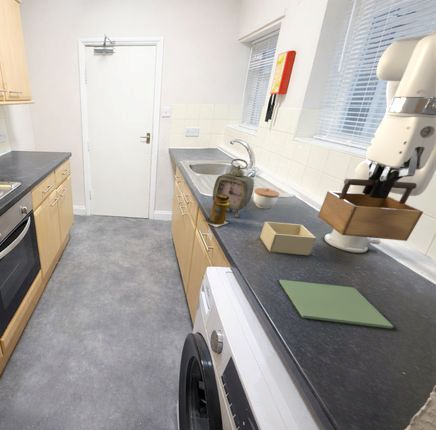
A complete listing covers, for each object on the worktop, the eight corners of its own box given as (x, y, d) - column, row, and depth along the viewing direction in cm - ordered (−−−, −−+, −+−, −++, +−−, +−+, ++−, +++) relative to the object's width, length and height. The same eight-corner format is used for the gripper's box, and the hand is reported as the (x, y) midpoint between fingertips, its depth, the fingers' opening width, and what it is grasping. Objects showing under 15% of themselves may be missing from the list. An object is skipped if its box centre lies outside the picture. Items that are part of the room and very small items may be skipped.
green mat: (353, 289, 76) (354, 287, 75) (392, 328, 63) (393, 326, 63) (279, 281, 78) (279, 279, 78) (302, 317, 66) (303, 315, 65)
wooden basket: (374, 221, 67) (396, 176, 62) (407, 241, 58) (437, 190, 53) (316, 216, 68) (334, 172, 63) (340, 235, 59) (362, 185, 54)
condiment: (228, 222, 113) (234, 196, 108) (216, 227, 109) (222, 200, 104) (214, 216, 118) (219, 191, 113) (202, 220, 114) (206, 194, 109)
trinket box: (275, 205, 132) (281, 187, 128) (274, 212, 124) (279, 193, 120) (252, 200, 138) (256, 183, 134) (249, 207, 129) (254, 189, 125)
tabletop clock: (209, 210, 125) (219, 157, 114) (218, 205, 131) (229, 154, 120) (239, 220, 116) (254, 163, 105) (248, 214, 121) (262, 160, 111)
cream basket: (295, 240, 100) (301, 224, 97) (309, 255, 91) (316, 238, 88) (259, 237, 102) (264, 221, 99) (269, 251, 93) (275, 234, 90)
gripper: (481, 111, 44) (423, 211, 52) (403, 107, 58) (367, 186, 66) (430, 109, 45) (381, 208, 53) (366, 105, 59) (334, 184, 67)
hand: (374, 195), depth 59 cm, fingers closed on wooden basket, 1 cm apart
